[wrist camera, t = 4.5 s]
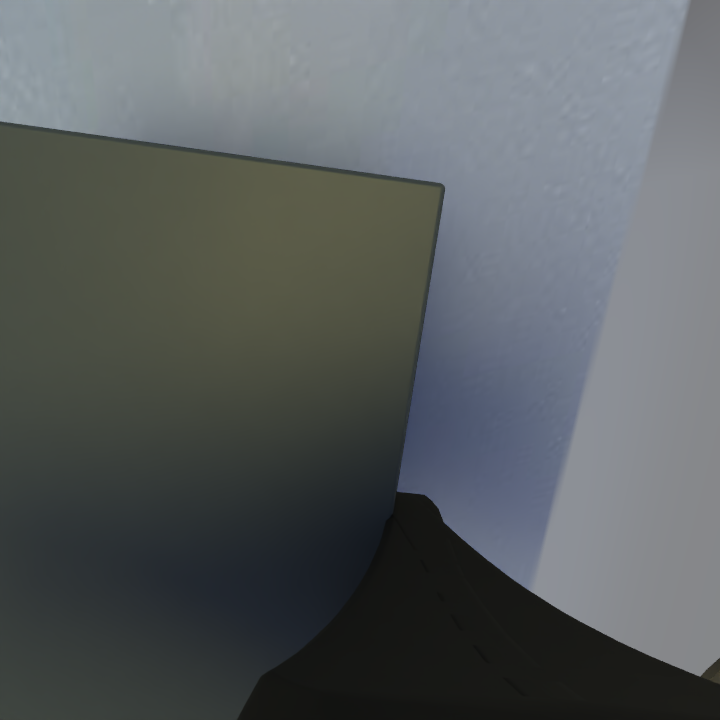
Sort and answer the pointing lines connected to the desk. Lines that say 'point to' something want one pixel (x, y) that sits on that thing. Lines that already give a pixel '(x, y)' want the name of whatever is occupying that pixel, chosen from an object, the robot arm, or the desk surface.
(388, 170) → the desk surface
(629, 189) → the desk surface
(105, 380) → the dark grey storage bin
